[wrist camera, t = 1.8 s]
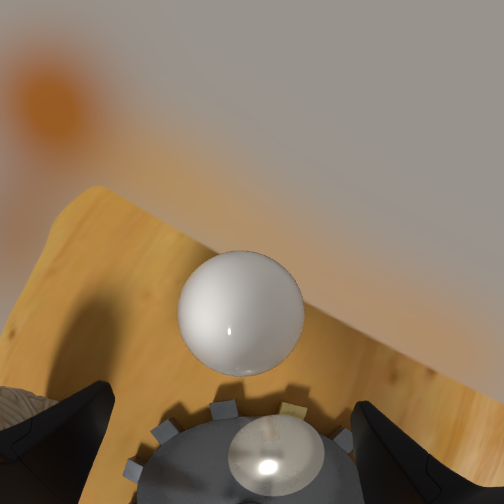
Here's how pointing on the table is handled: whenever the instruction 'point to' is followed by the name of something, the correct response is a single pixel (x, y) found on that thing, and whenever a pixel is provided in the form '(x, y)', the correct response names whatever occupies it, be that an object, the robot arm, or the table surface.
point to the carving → (20, 406)
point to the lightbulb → (240, 313)
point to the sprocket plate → (247, 461)
